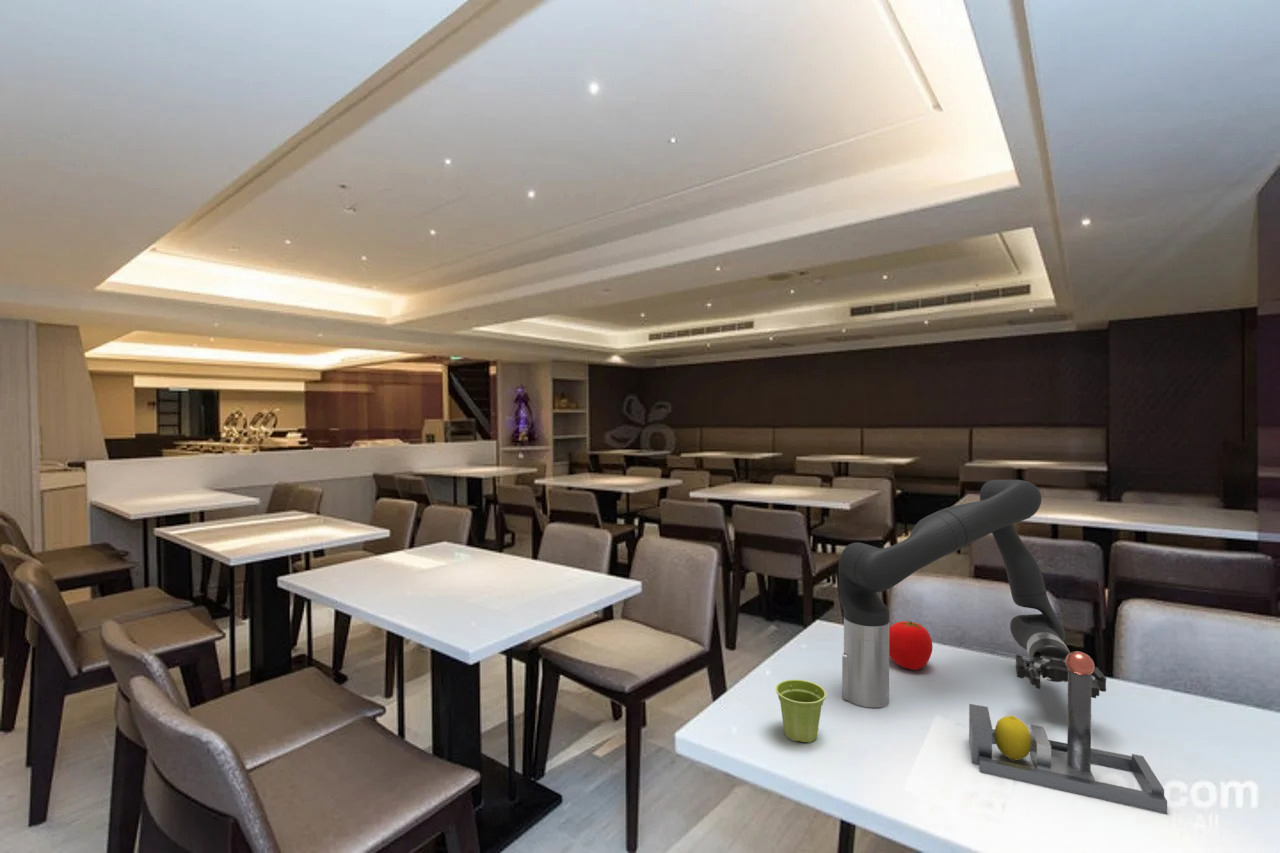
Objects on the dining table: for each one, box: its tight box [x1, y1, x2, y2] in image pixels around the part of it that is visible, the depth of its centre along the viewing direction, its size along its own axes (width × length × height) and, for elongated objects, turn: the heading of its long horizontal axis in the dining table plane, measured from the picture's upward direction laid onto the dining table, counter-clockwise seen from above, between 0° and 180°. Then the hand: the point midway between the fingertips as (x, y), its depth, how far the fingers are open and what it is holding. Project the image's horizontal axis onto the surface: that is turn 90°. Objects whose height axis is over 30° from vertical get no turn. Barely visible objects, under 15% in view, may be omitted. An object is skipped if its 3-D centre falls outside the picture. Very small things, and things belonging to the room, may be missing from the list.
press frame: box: [968, 703, 1168, 814], centre depth 102 cm, size 26×13×7 cm, turn 64°
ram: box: [1029, 650, 1096, 781], centre depth 101 cm, size 8×8×21 cm
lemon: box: [994, 715, 1031, 762], centre depth 105 cm, size 6×6×8 cm
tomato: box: [889, 620, 934, 671], centre depth 144 cm, size 10×11×11 cm
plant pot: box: [775, 679, 827, 743], centre depth 113 cm, size 9×9×9 cm
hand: (1065, 688), depth 110 cm, fingers open, 8 cm apart
